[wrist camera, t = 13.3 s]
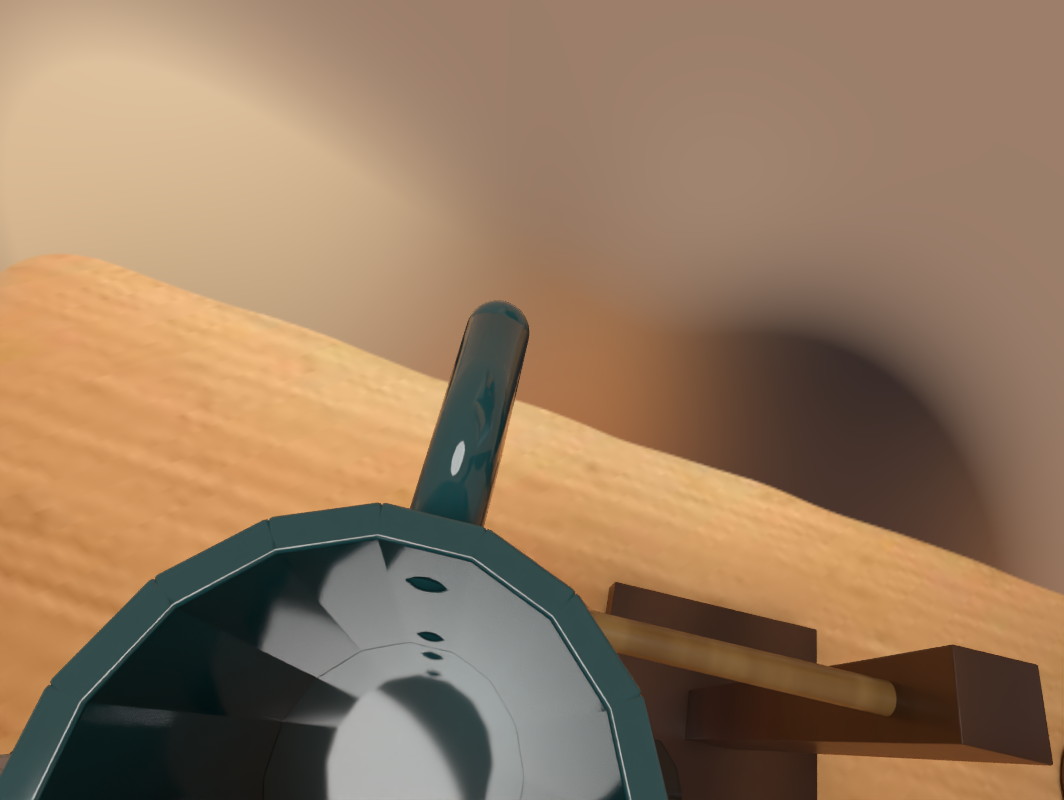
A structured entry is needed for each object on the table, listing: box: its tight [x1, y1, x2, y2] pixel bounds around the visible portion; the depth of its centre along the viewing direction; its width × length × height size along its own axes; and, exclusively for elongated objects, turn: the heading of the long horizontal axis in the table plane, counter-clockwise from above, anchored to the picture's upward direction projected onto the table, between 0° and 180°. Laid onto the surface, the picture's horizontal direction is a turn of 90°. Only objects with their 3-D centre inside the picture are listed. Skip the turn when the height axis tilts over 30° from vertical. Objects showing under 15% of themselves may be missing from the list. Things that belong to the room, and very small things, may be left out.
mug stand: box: [585, 582, 1053, 800], centre depth 26 cm, size 18×12×22 cm
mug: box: [0, 300, 669, 800], centre depth 12 cm, size 11×6×10 cm, turn 168°
